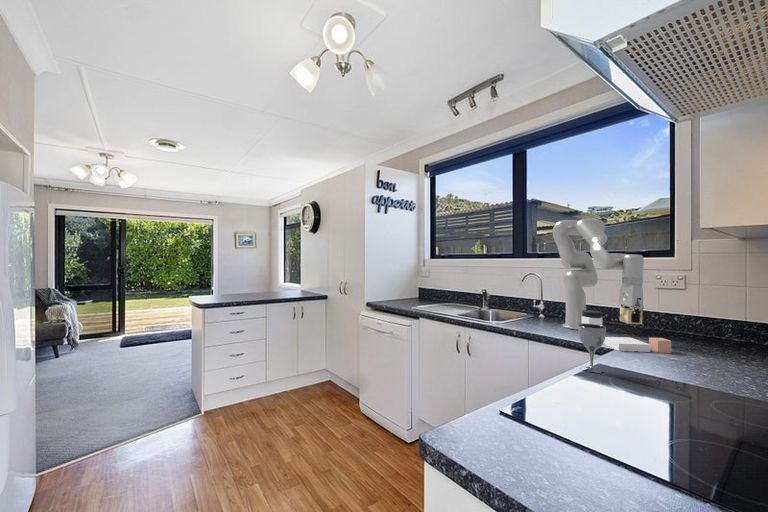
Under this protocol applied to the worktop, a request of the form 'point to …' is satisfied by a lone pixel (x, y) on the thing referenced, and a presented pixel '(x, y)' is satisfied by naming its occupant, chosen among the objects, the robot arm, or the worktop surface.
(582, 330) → the wine glass
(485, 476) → the worktop surface
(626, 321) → the maple cube
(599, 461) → the worktop surface
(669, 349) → the terracotta cube
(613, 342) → the plinth
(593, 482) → the worktop surface
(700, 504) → the worktop surface
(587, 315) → the jar
